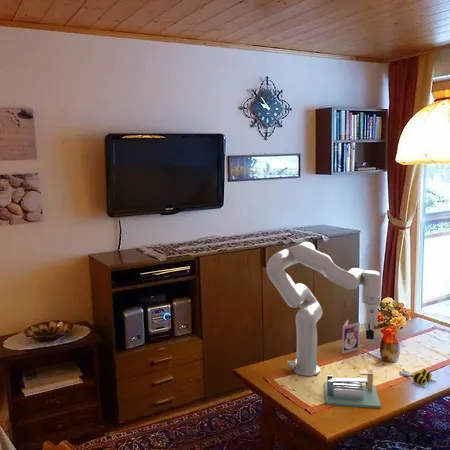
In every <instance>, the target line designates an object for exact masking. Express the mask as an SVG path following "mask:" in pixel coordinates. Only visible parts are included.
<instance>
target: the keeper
mask: <svg viewBox="0 0 450 450" xmlns="http://www.w3.org/2000/svg"><path fill="white" fill-rule="evenodd" d="M358 372H359V375H360V376H366V378H367V381H368V386H367V388H368V390H372V386H373V380H374V373H373V370H372V369H371V370H370V369H358Z"/></svg>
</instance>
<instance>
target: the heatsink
mask: <svg viewBox="0 0 450 450" xmlns="http://www.w3.org/2000/svg"><path fill="white" fill-rule="evenodd" d="M326 375H327V378H326V379H327V390H328V395H330V396H333V394H334V398H341V399H356V400H363V388H362V385H363V383H334V382H333V380H329V378H333V374H326Z"/></svg>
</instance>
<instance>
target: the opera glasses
mask: <svg viewBox="0 0 450 450" xmlns="http://www.w3.org/2000/svg"><path fill="white" fill-rule="evenodd" d="M413 374H414V375H413V376H412V380H413V381H414V382H415V381H416V382H417V383H419V384H421V385H423V386H424V385H425V384H426V383H427V382H428V381H431V380H430V379H432V376H433V373H432V372H430V371H428V370H426V369H425V368H424V367H422V369H421V371H416V372H415V373H413ZM427 379H428V380H427Z"/></svg>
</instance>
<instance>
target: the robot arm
mask: <svg viewBox="0 0 450 450" xmlns="http://www.w3.org/2000/svg"><path fill="white" fill-rule="evenodd" d="M295 264H301V265H304V266H305V267H308V268H310V269H313V270H315V271H317V272H319V273H320V274H322V276H324V277H325V278H326V279H328V280H329V281H330V282H331V283H333V284H334V285H335V284H336V285H337V286H340V287H342V288H344V289H347V290H355V289H357V288H358V287H359V286H361V285H362V291H361V292H362V293H361V296H362V298H361V303H363V304H364V321H365V325H366V329H365V338H366V340H374V339H375V330H374V329H375V327H378V326H379V325H378V323H379V321H378V319H379V318H378V316H379V313H378V311H379V308H378V305H380V303H381V299H380V298H381V283H382V282H381V273H380V272H379V271H377V270H366V269H361V268H359V267H358V268H357V267H352V268H350V269H349V270H345V269H343V268H341V267H339V266H338V265H336V264H335V263H334V262H333V260H332V257H331V256H329V255H328V254H326V253H323V252H321V251H318V250H317V249H316V247H315V245H314V244H313V243H311V242H309V241H303V242H302V243H297V244H296V245H292V246H290V247H287V248H284V249H282V250H280V251H277V252H276V253H274V254H272V256H270V258H269V259H268V261H267V263H266V269H265V270H266V274H267V277H268V278H269V280H270V281H271V283H272V284H273V285H274V287H275V288H276V290H277V291H278V293H279V294H280V296H281V297H282V298H283V300H284V302H285V303H286V304H287V305H288V306H289V307H290V308H291V309H292V308H293V309H294V308H298V307H299V309H298V311H297V312H296V314H295V326H296V358H295V360H287V361H286V365H287V366H289V367H293V368H292V371H293V372H294V373H295V374H297V375H300V376H302V377H303V376H304V377H313V376H317V375H319V374H320V372H321V369H320V367H319V366H318V365H317V363H318V361H317V359H318V356H317V355H318V331H317V322H319V320H320V319H321V318H322V316H323V308H322V306H321V304H320V302H319V301H318V299H317V298H316V297H315V296H314V294H313V293H312V291H311V290H310V288H309V287H308V286H307V285H305V284H303V283H301V282H300V283H295V281H294V280H293V279H292V277H291V276H290V275H289V274H288V273H287V272H286V271H285V269H287V268H289V267H291V266H293V265H295Z"/></svg>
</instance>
